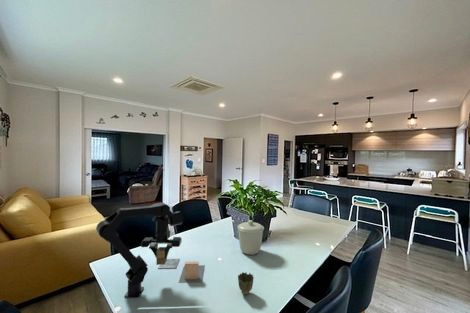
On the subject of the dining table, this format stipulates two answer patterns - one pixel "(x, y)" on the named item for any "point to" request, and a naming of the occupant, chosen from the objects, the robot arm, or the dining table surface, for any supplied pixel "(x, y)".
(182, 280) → the rubber mat
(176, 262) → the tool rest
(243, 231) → the canister
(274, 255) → the dining table surface
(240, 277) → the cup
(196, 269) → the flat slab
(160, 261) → the walnut block
